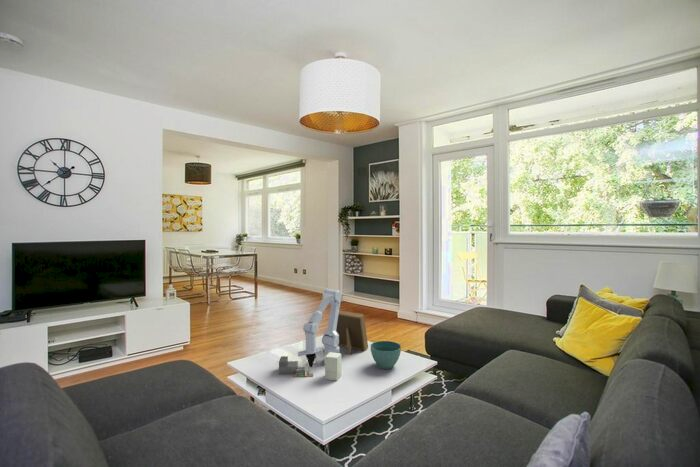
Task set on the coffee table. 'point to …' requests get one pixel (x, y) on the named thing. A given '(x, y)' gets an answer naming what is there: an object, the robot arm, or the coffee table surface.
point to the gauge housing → (287, 366)
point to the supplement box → (333, 366)
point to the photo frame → (352, 331)
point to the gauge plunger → (305, 367)
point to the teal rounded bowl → (385, 353)
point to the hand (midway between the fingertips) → (310, 366)
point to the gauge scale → (303, 375)
